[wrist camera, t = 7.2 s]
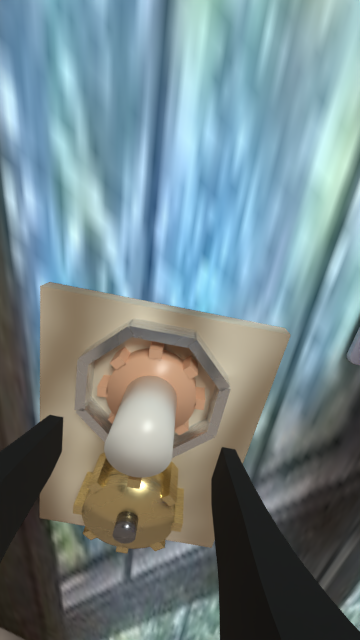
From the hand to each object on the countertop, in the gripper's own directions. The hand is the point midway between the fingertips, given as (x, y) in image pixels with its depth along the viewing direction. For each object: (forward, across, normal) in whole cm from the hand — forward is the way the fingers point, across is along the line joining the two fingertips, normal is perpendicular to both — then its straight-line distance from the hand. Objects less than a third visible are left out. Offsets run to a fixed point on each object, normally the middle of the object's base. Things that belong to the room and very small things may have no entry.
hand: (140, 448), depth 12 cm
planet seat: (+6, 0, 0) cm, 6 cm away
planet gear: (+5, 0, 0) cm, 5 cm away
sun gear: (+6, 0, +9) cm, 10 cm away
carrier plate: (+6, 0, +5) cm, 7 cm away
